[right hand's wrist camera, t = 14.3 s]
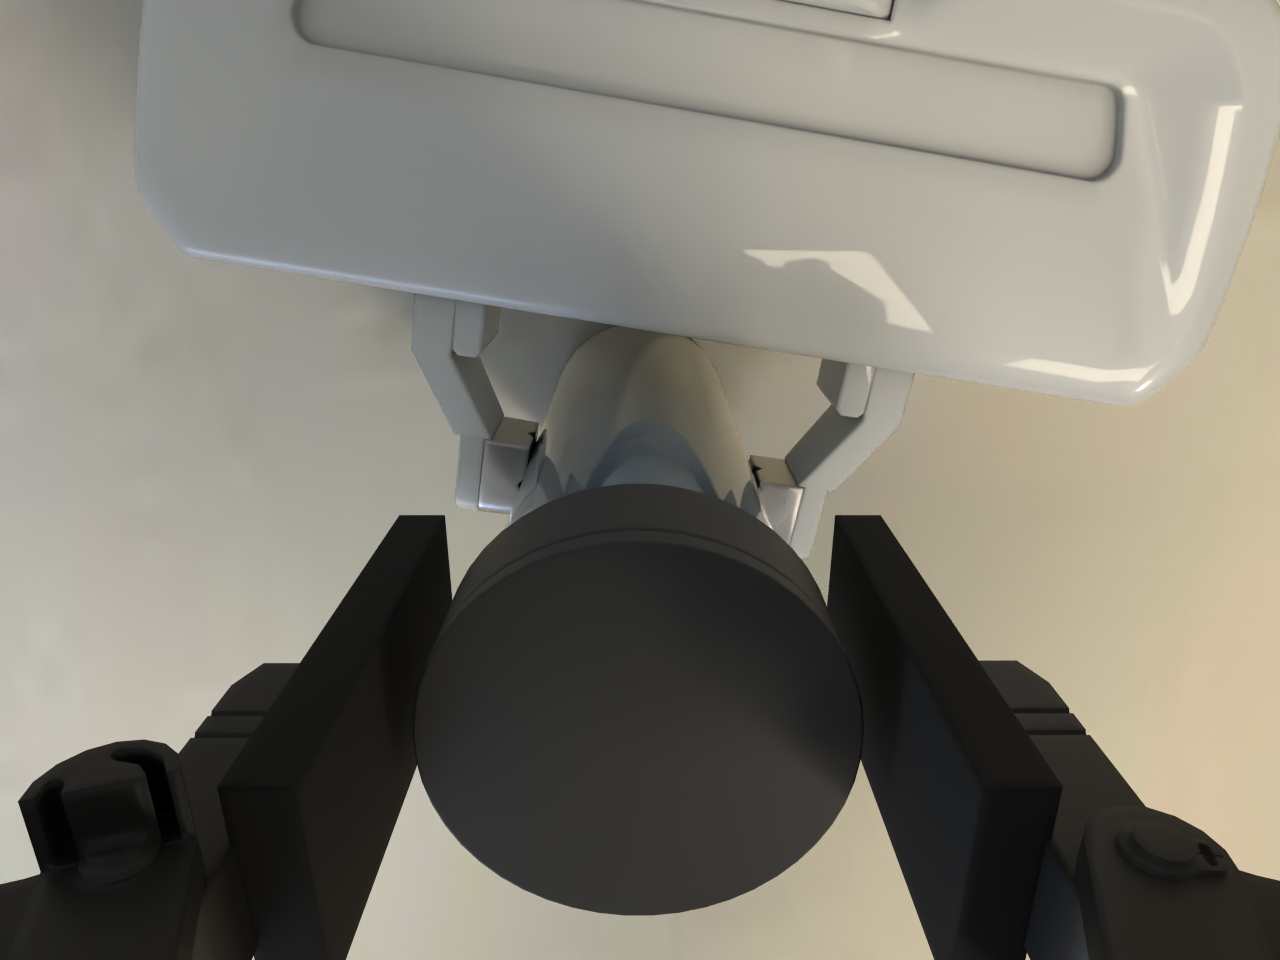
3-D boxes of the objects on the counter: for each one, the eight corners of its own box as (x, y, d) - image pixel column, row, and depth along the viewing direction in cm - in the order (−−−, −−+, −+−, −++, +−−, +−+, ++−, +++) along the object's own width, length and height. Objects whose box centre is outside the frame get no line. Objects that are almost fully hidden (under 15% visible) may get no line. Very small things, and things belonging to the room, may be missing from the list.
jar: (663, 288, 24) (697, 475, 10) (755, 428, 25) (898, 767, 11) (522, 384, 25) (366, 680, 11) (617, 513, 26) (591, 924, 12)
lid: (696, 402, 11) (708, 449, 9) (900, 705, 13) (943, 796, 11) (364, 615, 12) (316, 694, 10) (591, 868, 14) (584, 975, 12)
